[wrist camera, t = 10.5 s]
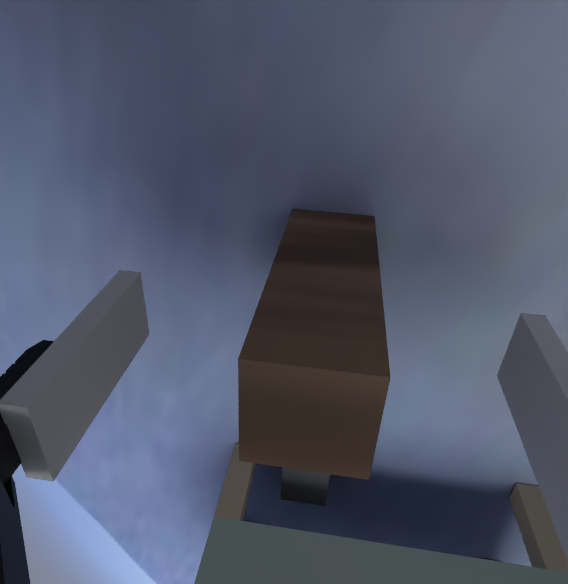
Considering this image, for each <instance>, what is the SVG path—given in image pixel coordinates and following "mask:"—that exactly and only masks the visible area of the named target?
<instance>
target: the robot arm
mask: <svg viewBox="0 0 568 584" xmlns="http://www.w3.org/2000/svg"><path fill="white" fill-rule="evenodd" d="M148 335H149V328H148V321H147V314H146V307H145V300H144V293H143V287H142V280H141V273H140V272H133V271H124V270H120V271H119V272H118V273H117V274H116V275H115V276H114V277H113V278H112V279H111V280H110V282H109V283H108V284H107V285H106V286H105V287H104V288H103V289H102V290H101V291H100V292H99V293H98V295H97V296H96V297H95V298H94V299H93V300H92V301H91V302H90V303H89V304H88V305H87V306H86V308H85V309H84V310H83V311H82V312H81V313H80V314H79V315H78V316H77V317H76V318H75V319H74V321H73V322H72V323H71V324H70V325H69V326H68V327H67V328H66V329H65V330H64V331H63V332H62V334H61V335H60V336H59V337H58V338H57V339H56V340H55V341H47V340H43V341H41V342H39V343H37V344H36V345H34V346H32V347H31V348H29V349H27V350H26V351H25V352H24V353H23V354H22V355H21V356H20V357H19V358H18V359H17V360H16V361H15V364H12V365H11V366H10V367H9V368H8V369H7V370H6V373H5V374H3V375H2V376H1V377H0V584H30V579H29V572H28V566H27V560H26V553H25V546H24V540H23V533H22V527H21V520H20V514H19V508H18V502H17V494H16V488H15V482H14V480H13V478H12V474H13V473H14V472H15V470H16V469H17V468H18V466H19V465H20V464H21V465H22V467H23V470H24V472H25V475H26V477H28V478H35V479H41V480H47V481H54V480H55V478H56V477H57V475H58V473H59V472H60V470H61V469H62V467H63V466H64V464H65V463H66V461H67V460H68V458H69V457H70V455H71V453H72V452H73V450H74V449H75V447H76V446H77V444H78V443H79V441H80V440H81V438H82V437H83V435H84V434H85V432H86V430H87V429H88V427H89V426H90V424H91V423H92V421H93V420H94V418H95V417H96V415H97V414H98V412H99V410H100V409H101V407H102V406H103V404H104V403H105V401H106V400H107V398H108V397H109V395H110V394H111V392H112V390H113V389H114V387H115V386H116V384H117V383H118V381H119V380H120V378H121V377H122V375H123V374H124V372H125V370H126V369H127V367H128V366H129V364H130V363H131V361H132V360H133V358H134V357H135V355H136V354H137V352H138V350H139V349H140V347H141V346H142V344H143V343H144V341H145V340H146V338H147V337H148ZM497 377H498V379H499V382H500V385H501V387H502V390H503V393H504V395H505V398H506V401H507V403H508V406H509V408H510V411H511V414H512V416H513V419H514V422H515V424H516V427H517V430H518V432H519V435H520V437H521V440H522V443H523V445H524V448H525V451H526V453H527V456H528V459H529V461H530V464H531V466H532V469H533V472H534V474H535V477H536V480H537V482H538V485H539V488H540V490H541V493H542V495H543V498H544V501H545V503H546V506H547V509H548V511H549V514H550V517H551V519H552V522H553V525H554V527H555V530H556V532H557V535H558V538H559V540H560V543H561V546H562V548H563V551H564V554H565V556H566V559H567V561H568V352H567V351H566V349H565V347H564V346H563V344H562V342H561V341H560V339H559V337H558V336H557V334H556V333H555V331H554V329H553V328H552V326H551V324H550V323H549V321H548V320H547V318H546V316H544V315H535V314H525V313H521V314H520V317H519V319H518V322H517V325H516V327H515V330H514V333H513V335H512V338H511V340H510V343H509V346H508V348H507V351H506V354H505V356H504V359H503V361H502V364H501V367H500V369H499V372H498V375H497Z"/></svg>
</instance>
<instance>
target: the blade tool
mask: <svg viewBox="0 0 568 584" xmlns="http://www.w3.org/2000/svg"><path fill="white" fill-rule="evenodd" d="M238 381H239V461H243V462H249V463H256V464H263V465H270V466H277V467H283V468H282V483H281V499H282V500H289V501H295V502H302V503H308V504H315V505H321V506H325V505H326V498H327V491H328V484H329V477H330V474H332V475H339V476H345V477H352V478H359V479H366V480H369V477H370V472H371V467H372V462H373V458H374V453H375V448H376V443H377V438H378V434H379V429H380V424H381V419H382V415H383V410H384V405H385V400H386V395H387V391H388V386H389V381H390V370H389V360H388V350H387V340H386V329H385V319H384V309H383V299H382V288H381V278H380V268H379V258H378V247H377V237H376V227H375V217H374V216H364V215H353V214H342V213H331V212H320V211H309V210H298V209H292V212H291V215H290V218H289V220H288V223H287V226H286V229H285V231H284V234H283V237H282V240H281V242H280V245H279V248H278V251H277V254H276V256H275V259H274V262H273V265H272V267H271V270H270V273H269V276H268V278H267V281H266V284H265V287H264V289H263V292H262V295H261V298H260V300H259V303H258V306H257V309H256V311H255V314H254V317H253V320H252V323H251V325H250V328H249V331H248V334H247V336H246V339H245V342H244V345H243V347H242V350H241V353H240V356H239V358H238Z"/></svg>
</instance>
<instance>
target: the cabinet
mask: <svg viewBox="0 0 568 584" xmlns="http://www.w3.org/2000/svg"><path fill="white" fill-rule="evenodd" d="M255 467H256V463H249V462H243V461H239V444H237V443H236V444H235V447H234V451H233V454H232V457H231V461H230V464H229V468H228V471H227V474H226V478H225V481H224V485H223V488H222V491H221V495H220V498H219V502H218V505H217V508H216V512H215V515H214V519H213V522H212V525H211V529H210V532H209V536H208V539H207V542H206V546H205V549H204V553H203V556H202V559H201V563H200V566H199V570H198V573H197V576H196V580H195V583H194V584H568V561H567V559H566V556H565V554H564V551H563V548H562V546H561V543H560V540H559V538H558V535H557V532H556V530H555V527H554V525H553V522H552V519H551V517H550V514H549V511H548V509H547V506H546V503H545V501H544V498H543V495H542V493H541V490H540V488H539V486H534V485H527V484H520V483H516V485H515V487H514V489H513V491H512V493H511V496H510V501H511V504H512V507H513V510H514V513H515V516H516V519H517V522H518V525H519V528H520V531H521V534H522V538H523V541H524V544H525V547H526V550H527V553H528V556H529V559H530V562H531V565H532V567H530V566H524V565H518V564H511V563H505V562H500V561H494V560H488V559H480V558H473V557H467V556H461V555H454V554H448V553H442V552H435V551H429V550H423V549H416V548H410V547H404V546H397V545H391V544H385V543H378V542H372V541H366V540H359V539H353V538H347V537H340V536H334V535H328V534H321V533H315V532H309V531H302V530H296V529H290V528H283V527H277V526H271V525H264V524H258V523H253V522H247V521H243V519H244V515H245V510H246V506H247V502H248V497H249V493H250V489H251V484H252V480H253V476H254V472H255Z"/></svg>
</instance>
